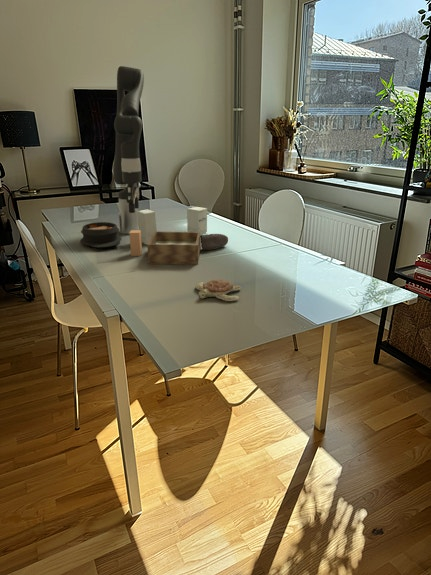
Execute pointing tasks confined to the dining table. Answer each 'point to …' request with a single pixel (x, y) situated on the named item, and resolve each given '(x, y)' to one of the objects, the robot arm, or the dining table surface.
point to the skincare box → (146, 224)
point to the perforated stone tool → (213, 241)
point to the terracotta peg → (135, 242)
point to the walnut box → (174, 248)
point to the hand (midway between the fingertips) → (134, 210)
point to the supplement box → (197, 220)
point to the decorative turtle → (217, 289)
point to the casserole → (100, 234)
